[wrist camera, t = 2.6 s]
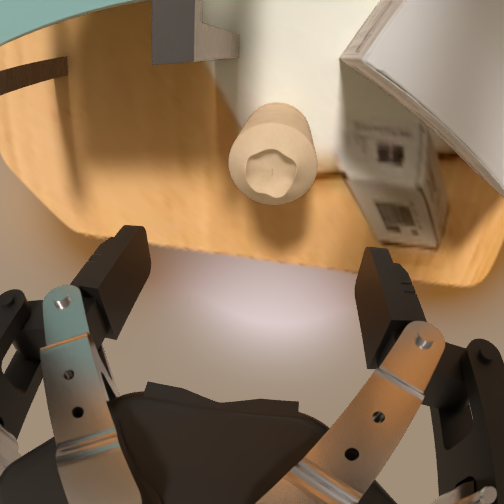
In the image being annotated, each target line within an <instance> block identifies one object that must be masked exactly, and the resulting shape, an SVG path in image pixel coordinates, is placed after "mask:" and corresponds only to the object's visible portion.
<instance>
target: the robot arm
mask: <svg viewBox="0 0 504 504" xmlns="http://www.w3.org/2000/svg"><path fill="white" fill-rule="evenodd" d="M150 269H151V258H150V253H149V248H148V241H147V235H146V230H145V228H144V227H143V226H131V225H124V226H123V227H122V228H121V229H120V231H119V232H118V233H117V234H116V236H115V237H111V238H109V239H108V240H106V241H105V242H103V243H102V244H100V246H99V247H98V248H97V250H96V251H95V252H94V255H92V256H91V257H90V259H89V261H88V262H86V264H85V265H84V266H83V268H82V269H81V270H80V272H79V273H78V274H77V276H76V277H75V278H74V280H73V281H72V282H71V284H70V285H62V286H59V287H56V288H54V289H53V290H51V291H50V292H49V293H48V294H47V295H46V296H45V298H44V300H37V301H27V299H26V297H25V295H24V293H23V292H22V291H20V290H17V289H14V290H9V291H7V292H5V293H3V294H1V295H0V504H397V503H396V502H395V501H394V500H393V499H392V498H391V497H390V496H389V495H388V493H386V491H385V490H384V489H383V488H382V487H381V486H380V485H379V483H378V482H377V481H376V480H375V478H376V477H377V475H378V474H379V473H380V471H381V470H382V468H383V467H384V465H385V464H386V462H387V461H388V459H389V458H390V456H391V454H392V453H393V452H394V450H395V448H396V447H397V445H398V443H399V442H400V440H401V439H402V437H403V435H404V434H405V432H406V430H407V428H408V427H409V425H410V423H411V422H412V420H413V418H414V416H415V414H416V413H417V411H418V409H419V407H420V405H421V404H423V405H427V406H430V410H431V417H432V424H433V432H434V439H435V449H436V459H437V470H438V485H439V486H438V487H439V497H438V498H437V499H435V501H434V502H433V503H432V504H504V363H503V360H502V357H501V355H500V352H499V351H498V349H497V348H496V347H495V346H494V345H493V344H492V343H490V342H489V341H487V340H484V339H475V340H473V341H471V342H470V343H469V345H468V346H467V348H462V347H459V346H456V345H452V344H449V343H446V342H445V340H444V336H443V335H442V333H441V332H440V331H439V329H438V328H436V327H435V326H434V325H432V324H430V323H428V322H427V321H426V319H425V316H424V313H423V310H422V308H421V305H420V302H419V300H418V297H417V295H416V294H415V289H414V287H413V285H412V282H411V279H410V277H409V274H408V273H407V272H406V270H405V269H404V268H403V267H402V266H401V265H400V264H397V263H393V261H392V258H391V256H390V253H389V251H388V249H386V248H376V247H366V249H365V251H364V255H363V258H362V262H361V266H360V269H359V273H358V276H357V279H356V284H355V299H356V305H357V310H358V316H359V321H360V327H361V332H362V338H363V344H364V351H365V357H366V364H367V369H376V370H375V371H374V372H373V374H372V375H371V377H370V378H369V379H368V381H367V382H366V383H365V385H364V386H363V387H362V389H361V390H360V392H359V393H358V394H357V396H356V397H355V398H354V399H353V401H352V402H351V403H350V404H349V406H348V407H347V408H346V410H345V411H344V412H343V413H342V414H341V416H340V417H339V418H338V419H337V420H336V422H335V423H334V424H333V425H332V426H331V428H329V427H328V426H326V425H325V424H323V423H322V422H320V421H319V420H317V419H315V418H313V417H311V416H308V415H306V414H303V413H300V412H298V406H299V402H296V401H281V400H269V399H254V400H245V401H236V402H225V403H219V402H215V401H213V400H210V399H208V398H205V397H202V396H200V395H198V394H195V393H193V392H190V391H188V390H185V389H183V388H178V387H173V386H168V385H162V384H157V383H153V382H148V383H147V385H146V388H145V391H144V392H134V393H129V394H125V395H122V396H120V394H119V392H118V390H117V387H116V384H115V382H114V379H113V376H112V373H111V370H110V367H109V363H108V360H107V357H106V354H105V351H104V348H103V345H102V342H103V340H104V338H110V339H115V340H117V338H118V335H119V334H120V331H121V330H122V327H123V325H124V323H125V321H126V319H127V317H128V315H129V314H130V312H131V309H132V308H133V306H134V303H135V302H136V300H137V298H138V296H139V294H140V292H141V290H142V288H143V286H144V284H145V282H146V281H147V279H148V277H149V274H150ZM11 344H13V345H14V347H15V348H16V350H17V351H16V353H15V355H14V357H13V358H12V360H11V362H10V364H9V366H8V367H7V369H6V371H5V373H4V374H3V372H2V368H1V365H2V360H3V358H4V356H5V354H6V353H7V351H8V349H9V347H10V346H11ZM42 378H43V381H44V387H45V393H46V399H47V405H48V410H49V415H50V420H51V424H52V429H53V433H54V437H53V438H51V439H49V440H48V441H46V442H45V443H43V444H42V445H40V446H38V447H36V448H35V449H33V450H32V451H30V452H28V453H27V454H25V455H24V456H22V457H21V455H20V453H19V452H18V443H17V438H18V435H19V433H20V430H21V428H22V425H23V422H24V420H25V418H26V415H27V413H28V410H29V408H30V406H31V403H32V401H33V399H34V396H35V394H36V392H37V389H38V387H39V385H40V383H41V380H42ZM469 403H470V405H469ZM470 407H471V409H470ZM471 411H472V414H471ZM472 416H473V419H472Z"/></svg>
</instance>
